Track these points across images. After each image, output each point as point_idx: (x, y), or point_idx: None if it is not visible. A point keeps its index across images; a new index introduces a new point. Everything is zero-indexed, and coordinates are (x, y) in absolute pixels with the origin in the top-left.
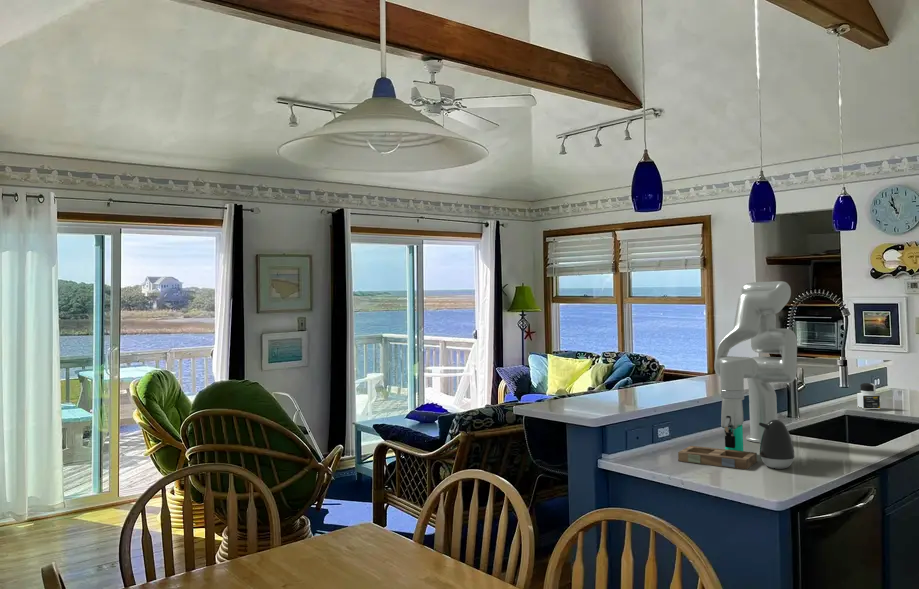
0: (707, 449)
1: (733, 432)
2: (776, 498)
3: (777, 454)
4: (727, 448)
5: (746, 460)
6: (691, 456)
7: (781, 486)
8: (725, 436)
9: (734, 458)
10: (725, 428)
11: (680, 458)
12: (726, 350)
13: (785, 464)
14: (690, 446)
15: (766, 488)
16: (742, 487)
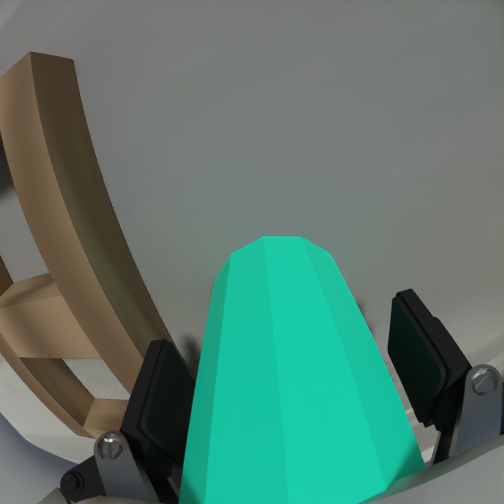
0: (36, 232)
1: (161, 497)
2: (34, 442)
3: None
4: (208, 316)
5: (81, 433)
6: None
7: (74, 453)
8: (128, 423)
9: (51, 410)
10: (50, 502)
11: None
12: None
13: None
14: (6, 81)
15: (44, 437)
16: (9, 410)
